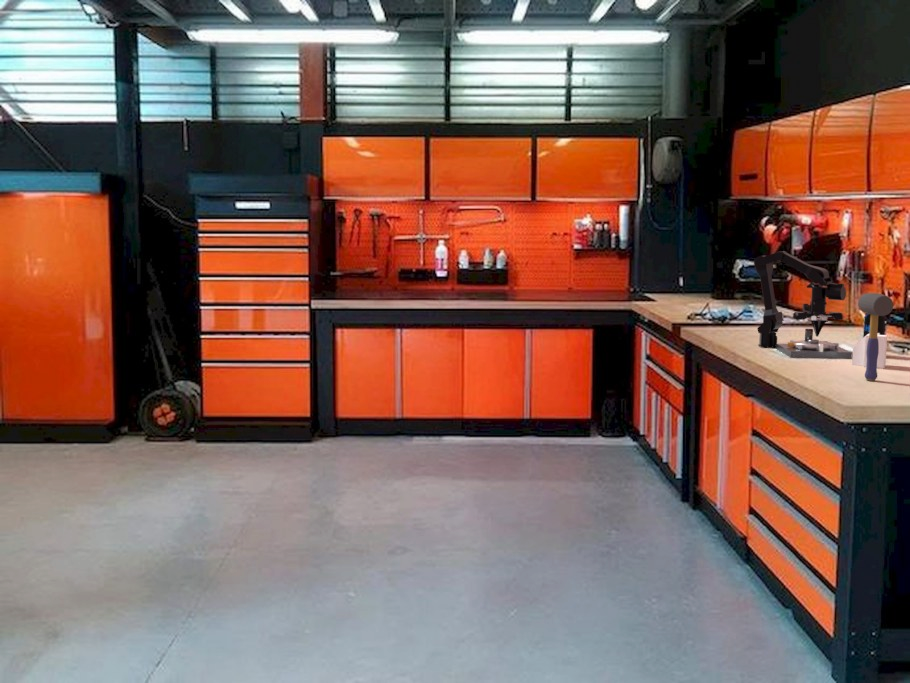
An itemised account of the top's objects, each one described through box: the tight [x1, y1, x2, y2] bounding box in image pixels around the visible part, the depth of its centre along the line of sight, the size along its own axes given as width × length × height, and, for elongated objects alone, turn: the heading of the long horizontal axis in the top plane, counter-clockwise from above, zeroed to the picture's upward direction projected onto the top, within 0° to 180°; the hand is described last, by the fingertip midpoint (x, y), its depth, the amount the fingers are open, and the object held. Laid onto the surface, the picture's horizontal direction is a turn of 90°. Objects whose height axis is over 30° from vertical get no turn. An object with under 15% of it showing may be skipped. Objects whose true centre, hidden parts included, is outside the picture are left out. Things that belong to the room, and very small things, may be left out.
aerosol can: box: [862, 313, 887, 338], centre depth 381 cm, size 8×8×20 cm
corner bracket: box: [851, 333, 888, 370], centre depth 357 cm, size 11×11×12 cm
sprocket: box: [787, 328, 840, 350], centre depth 387 cm, size 20×20×7 cm
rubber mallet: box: [857, 292, 894, 382], centre depth 322 cm, size 12×8×30 cm, turn 2°
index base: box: [775, 343, 853, 359], centre depth 388 cm, size 24×24×6 cm
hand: (816, 336), depth 394 cm, fingers closed
